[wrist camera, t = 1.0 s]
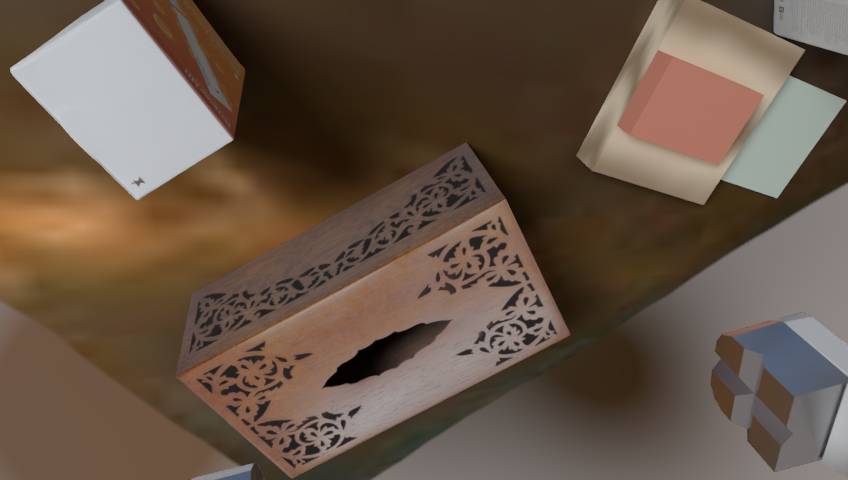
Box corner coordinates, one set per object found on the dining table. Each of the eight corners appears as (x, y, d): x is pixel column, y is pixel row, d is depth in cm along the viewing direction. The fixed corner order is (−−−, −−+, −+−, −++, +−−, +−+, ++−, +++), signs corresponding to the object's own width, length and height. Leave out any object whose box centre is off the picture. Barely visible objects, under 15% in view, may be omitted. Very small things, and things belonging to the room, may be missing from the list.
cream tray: (664, -13, 44) (688, -6, 42) (778, 40, 48) (805, 49, 46) (576, 155, 50) (592, 170, 48) (683, 189, 54) (703, 205, 52)
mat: (763, 64, 49) (766, 65, 49) (843, 99, 53) (846, 100, 52) (696, 170, 54) (698, 172, 53) (774, 196, 57) (777, 198, 57)
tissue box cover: (289, 390, 58) (291, 478, 49) (192, 291, 50) (175, 376, 41) (526, 265, 56) (570, 335, 47) (465, 140, 48) (505, 198, 39)
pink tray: (616, 125, 46) (629, 134, 44) (657, 49, 43) (673, 57, 42) (703, 155, 49) (718, 165, 47) (746, 87, 47) (764, 95, 45)
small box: (247, 69, 41) (238, 142, 30) (172, 117, 42) (136, 205, 31) (165, -43, 37) (119, -4, 26) (81, 12, 37) (2, 73, 26)
